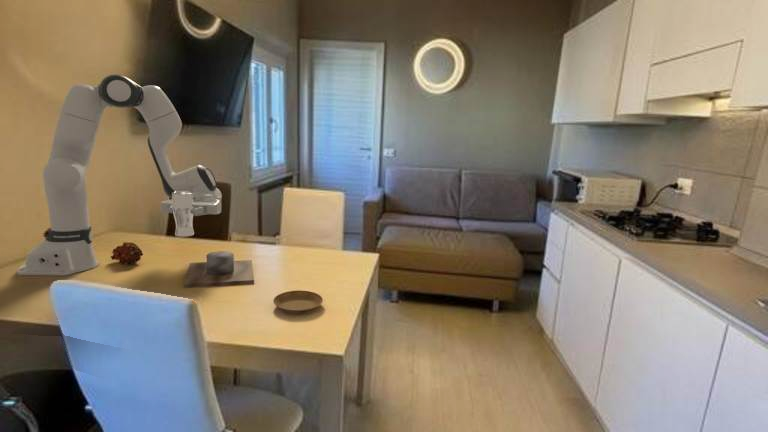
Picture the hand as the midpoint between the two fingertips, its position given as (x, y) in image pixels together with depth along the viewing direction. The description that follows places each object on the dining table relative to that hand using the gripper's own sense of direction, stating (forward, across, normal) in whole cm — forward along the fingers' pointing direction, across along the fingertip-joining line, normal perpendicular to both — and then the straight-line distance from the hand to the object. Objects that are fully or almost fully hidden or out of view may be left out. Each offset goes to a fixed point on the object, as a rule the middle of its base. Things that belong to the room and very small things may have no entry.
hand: (182, 211), depth 149 cm
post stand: (0, +12, +22) cm, 26 cm away
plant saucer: (+24, +44, +23) cm, 56 cm away
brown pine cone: (-7, -24, +22) cm, 34 cm away
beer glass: (-1, 0, +9) cm, 9 cm away
